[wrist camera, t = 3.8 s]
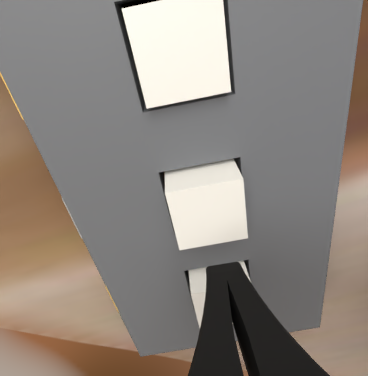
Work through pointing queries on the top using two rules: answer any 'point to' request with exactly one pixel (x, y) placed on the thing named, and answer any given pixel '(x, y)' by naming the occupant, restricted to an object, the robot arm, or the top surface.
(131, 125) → the button board
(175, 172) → the button middle
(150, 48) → the button
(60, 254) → the top surface
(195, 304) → the button
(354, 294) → the top surface
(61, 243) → the top surface
